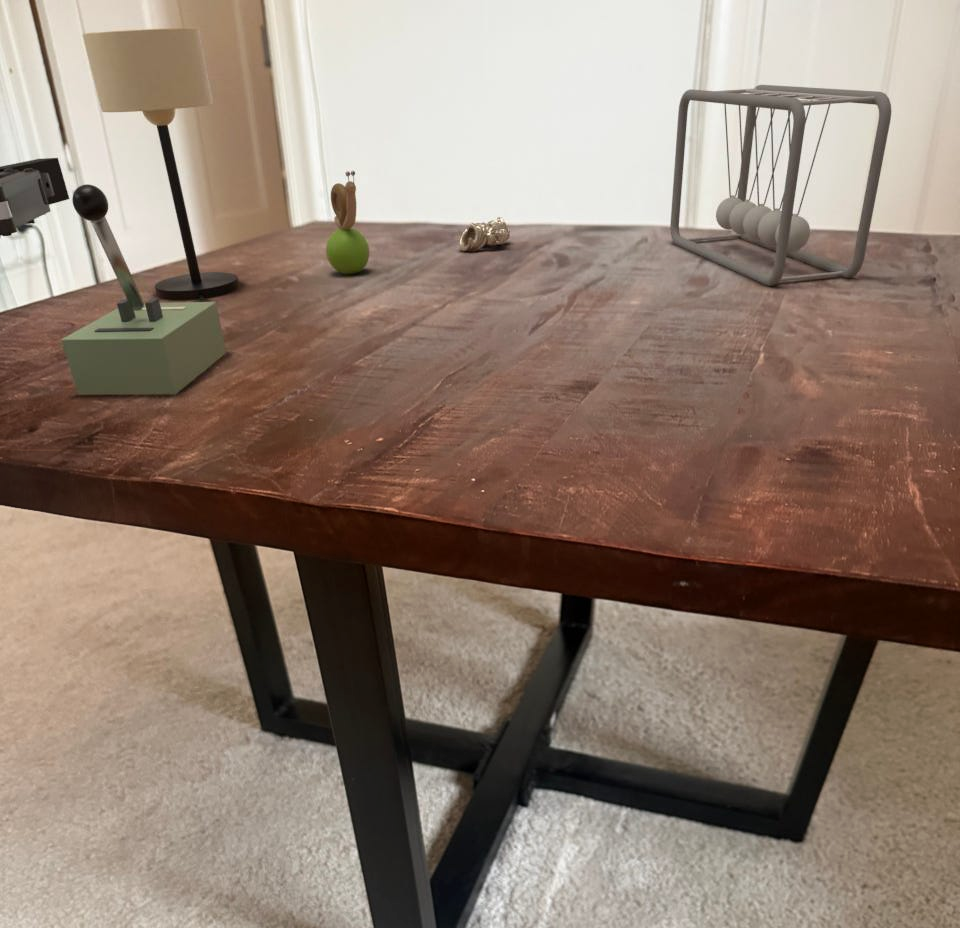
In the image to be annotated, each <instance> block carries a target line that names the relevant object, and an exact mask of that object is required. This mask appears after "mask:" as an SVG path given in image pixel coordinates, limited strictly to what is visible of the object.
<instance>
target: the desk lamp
mask: <svg viewBox="0 0 960 928" xmlns="http://www.w3.org/2000/svg"><path fill="white" fill-rule="evenodd" d="M200 31H201V30H200V28H199V27H168V28H145V29H144V28H143V29H142V28H141V29H126V30H125V29H124V30H109V31H108V30H107V31H97V32H85V33H82V39H83V43H84V47H85V50H86V54H87V59H88V62H89V66H90V70H91V74H92V79H93V82H94V86H95V89H96V90H95V91H96V94H97V99H98V103H99V106H100V110H101V113H135V112H142V114H143V116H144V118H145V119H146V121H148V122H149V123H150V124H152V125H153V126H156V129H157V134H158V138H159V143H160V147H161V151H162V152H161V153H162V156H163V160H164V165H165V169H166V174H167V178H168V182H169V188H170V193H171V197H172V201H173V205H174V209H175V214H176V218H177V224H178V227H179V232H180V238H181V241H182V246H183V251H184V255H185V259H186V263H187V268H188V272H189V273H187V274H181V275H175V276H172V277H169V278H168V277H167V278H165V279H162V280H159V281H158V282H156V283H155V284H154V289H155V294H156V298H158V299H161V300H165V301H166V300H167V301H197V300H198V302H207V300H206V299H210V298H216V297H221V296H224V295H229V294H231V293H233V292H235V291H237V290H238V289H240V282H239V281H240V280H239V276H238V275H236V274H234V273H231V272H225V271H224V272H223V271H210V272H209V271H207V272H206V271H205V272H201V271H200V267H199V263H198V258H197V254H196V253H197V252H196V250H195V249H196V248H195V244H194V239H193V236H192V231H191V230H192V229H191V225H190V222H189V221H190V220H189V216H188V211H187V208H186V203H185V199H184V194H183V189H182V185H181V180H180V176H179V170H178V167H177V166H178V165H177V161H176V157H175V151H174V147H173V142H172V139H171V138H172V137H171V134H170V129H169V125H170V124H171V123H172V122H173V121H174V118H175V116H176V110H177V109H179V110H180V109H188V108H198V107H199V108H200V107H206V106H211V105H213V104H214V101H213V95H212V89H211V85H210V79H209V73H208V68H207V63H206V60H205V59H206V58H205V54H204V53H205V52H204V47H203V42H202V36H201V32H200Z"/></svg>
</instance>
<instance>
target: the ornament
mask: <svg viewBox="0 0 960 928" xmlns="http://www.w3.org/2000/svg"><path fill="white" fill-rule="evenodd" d="M496 219H497V221H495V220H489V221H488V222H487V223H486V222H484V221H483V222H475V223H474V222H471V223H470V225H469V224H468V225H467V226H466V229H465V230H464V231H463V232H462V234H461V236H460V239H459V243H458V244H459V249H460V250H461V251H462V252H477V251H479V250H481V249H483V248H484V246H485V245H487V246H492V247H495V246H502V245H504V244H506V243H507V241H508V240H509V239H510V238H511V230H510V228H508V225H507V223H506V222H505V220H504V219H503V217H500V216H499V217H497V218H496Z"/></svg>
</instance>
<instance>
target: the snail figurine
mask: <svg viewBox="0 0 960 928" xmlns="http://www.w3.org/2000/svg"><path fill="white" fill-rule="evenodd" d="M355 175H356V171H355V170H351V171H348V170H347V171H345V176H346V177H347V182H346V183H345V185H344V184H342V183H340V182H339V183H335V184H333V186H332V187H331V190H330V203H331V207H332V210H333V213H334V214H335V216H334V217H333V220H334V223H335V225H336V227H337V228H338V229H337V230H334V232H333V233H332V234H331V235H330V236H329V237H328V239H327V242H326V245H325V253H326V258H327V260H328V262H329V265H330V266H331V267H332V268H333V269H334V270H335V271H337V272H338V273H340V274H343V275H349V276H351V275H355V274H358V273H361V271H362V270H363V269H365V267H366V266H367V264H368V262H369V259H370V247H369V244H368V241H367V239H366V237H365V236H364V235H363V234H362V233H361V232H359V230H357V229H355V228H353V227H354V225H355V223H356V220H357V196H356V191H357V186H356V184H355ZM350 176H352V179H353V181H352V180H350Z"/></svg>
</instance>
